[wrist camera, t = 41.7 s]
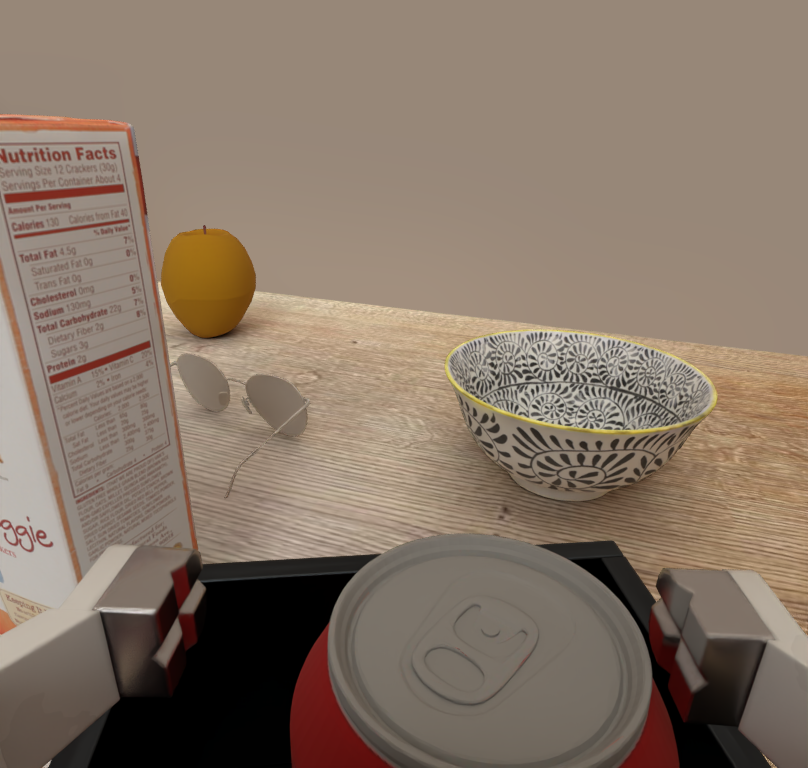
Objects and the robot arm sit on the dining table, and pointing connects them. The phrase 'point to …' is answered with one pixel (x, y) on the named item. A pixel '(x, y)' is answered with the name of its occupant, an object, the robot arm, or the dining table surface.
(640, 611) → the black open box
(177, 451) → the cracker box
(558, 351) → the bowl
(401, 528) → the dining table surface
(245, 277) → the apple
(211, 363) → the sunglasses
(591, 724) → the beverage can
